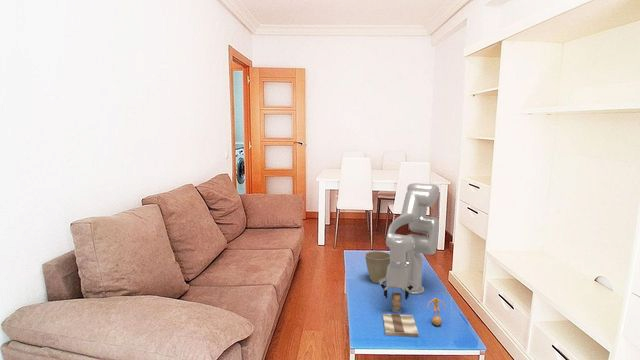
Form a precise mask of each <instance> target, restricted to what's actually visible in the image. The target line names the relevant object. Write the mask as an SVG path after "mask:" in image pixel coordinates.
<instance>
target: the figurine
mask: <svg viewBox="0 0 640 360" xmlns="http://www.w3.org/2000/svg"><path fill="white" fill-rule="evenodd" d="M432 302H433V306H432V307H433V313H434V316H433V317H432V323H433V324H434V326H440V325H442V319H441V317H440V316H439V313H440V305H439V303H441V304H442V306H443V307H444V309H446V306H445V304H444V302H443V301H442V300H440V299H438V298H436V297H434V298H433V299H432V300H430V301H428V304H427V310H429V309H430V308H429V307H430V303H432ZM436 311H437V312H436ZM436 313H437V315H436Z"/></svg>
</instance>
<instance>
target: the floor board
mask: <svg viewBox="0 0 640 360" xmlns="http://www.w3.org/2000/svg"><path fill="white" fill-rule="evenodd" d="M382 319H383V320H382V321H383V328H384V334H385V336H392V337H395V336H396V337H409V338H411V337H413V338H419V335H420V333H419V331H418V327H417V325H416V321H415V319H414V315H413V314H401V313H382Z"/></svg>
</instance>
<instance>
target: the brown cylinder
mask: <svg viewBox="0 0 640 360" xmlns="http://www.w3.org/2000/svg"><path fill="white" fill-rule="evenodd" d="M401 309H402V293H401V292H398V291H394V292H392V293H391V312H392V314H401V313H402V312H401V311H402V310H401Z"/></svg>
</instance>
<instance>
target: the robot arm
mask: <svg viewBox="0 0 640 360" xmlns="http://www.w3.org/2000/svg"><path fill="white" fill-rule="evenodd" d="M406 190H407V191H406V193H405V195H404V196H405V197H404V200H403V205H402V209H401V213H400V215H399V216H398V217H396V218H395V219H394V220H393V221H391V223H390V224H389V226H388V229H387V233H386V238H385V244H386V247H388V248H389V254H390V264H389V265H388V267H387V273H386V277H385V278H383V279H380V280H379V283H378V284H379V285H380V287H381V288H382V289H383V296H384V297H385V299H388V289H389V288H397V289H398V288H399V289H401V290H402V291H403V292H404V298H405V300H408V298H409V297H410V295H409V294H411V295H419V294H423V293H424V292H425V288H424V286H423V285H422V283H423V282H422V279H423V258H422V256H421V254H424V255H435V253H436V252H437V249H438V248H437V246H438V238H439V231H440V230H439V229H440V222H439V219H438V218H436V217H434V216H427V211H428V208H429V207H433V206H434V204H435V203H436V201H437V200H438V198H439V196H440V188H439V186H438V185H436V184H432V183H430V184H429V183H421V182H420V183H419V182H417V183H409V184H408V186H407V187H406ZM404 225H405V226H406V225H408V229H409V230H410V231H411V232H414V233H417V234H413V233H411V234H410V233H409V234H406V235H405V234H398V233H396V230H397V229H399V228H400V227H401V226H404ZM420 234H421V235H420ZM422 234H425V235H422ZM426 235H428V236H426ZM382 282H383V283H382ZM384 282H385V284H384Z"/></svg>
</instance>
